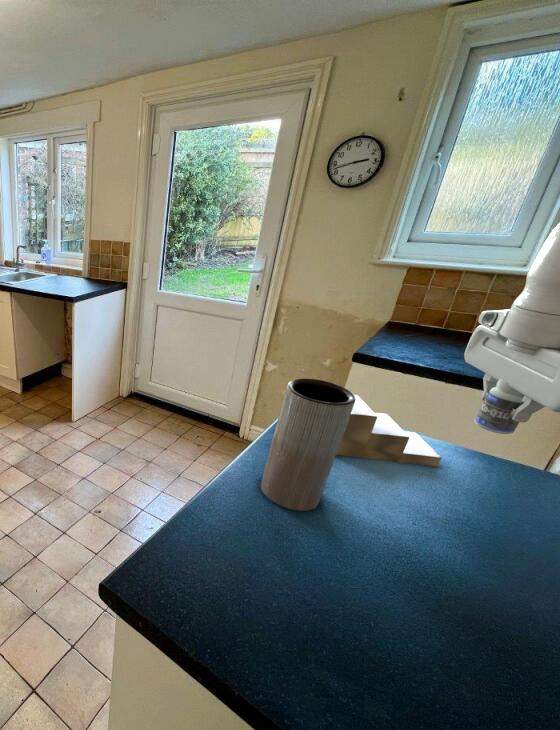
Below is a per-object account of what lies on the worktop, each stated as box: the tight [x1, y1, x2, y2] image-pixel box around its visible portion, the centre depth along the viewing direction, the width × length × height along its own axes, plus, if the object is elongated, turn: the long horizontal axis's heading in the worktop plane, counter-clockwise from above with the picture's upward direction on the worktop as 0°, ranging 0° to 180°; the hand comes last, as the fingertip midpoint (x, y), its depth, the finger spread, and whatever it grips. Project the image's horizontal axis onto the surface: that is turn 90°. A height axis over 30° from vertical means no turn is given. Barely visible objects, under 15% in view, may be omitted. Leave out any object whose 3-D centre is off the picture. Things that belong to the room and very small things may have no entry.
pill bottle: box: [473, 379, 525, 435], centre depth 66 cm, size 5×5×8 cm
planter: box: [260, 378, 356, 512], centre depth 75 cm, size 10×10×23 cm
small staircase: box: [336, 394, 443, 467], centre depth 91 cm, size 21×10×11 cm, turn 76°
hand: (501, 410), depth 67 cm, fingers closed on pill bottle, 5 cm apart
